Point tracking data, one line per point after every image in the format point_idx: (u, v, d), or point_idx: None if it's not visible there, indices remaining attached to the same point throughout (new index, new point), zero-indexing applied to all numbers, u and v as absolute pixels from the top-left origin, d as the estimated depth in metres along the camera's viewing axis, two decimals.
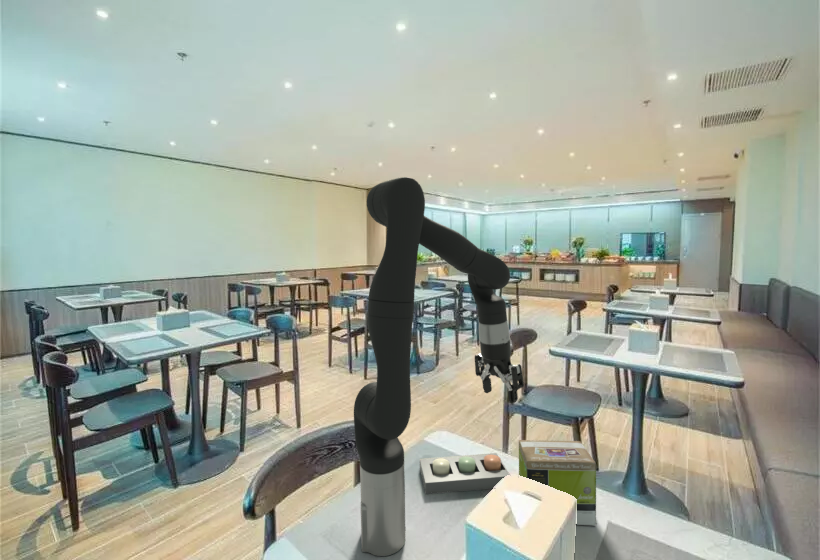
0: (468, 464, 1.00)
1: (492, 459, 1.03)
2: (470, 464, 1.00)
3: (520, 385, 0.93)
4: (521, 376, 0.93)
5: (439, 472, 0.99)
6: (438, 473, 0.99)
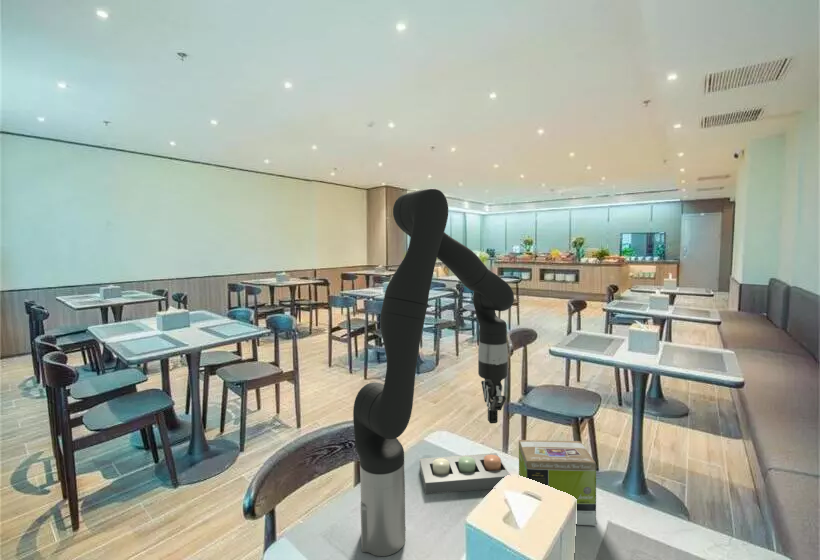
0: (468, 464, 1.00)
1: (492, 459, 1.03)
2: (470, 464, 1.00)
3: (497, 407, 0.98)
4: (501, 405, 0.97)
5: (439, 472, 0.99)
6: (438, 473, 0.99)
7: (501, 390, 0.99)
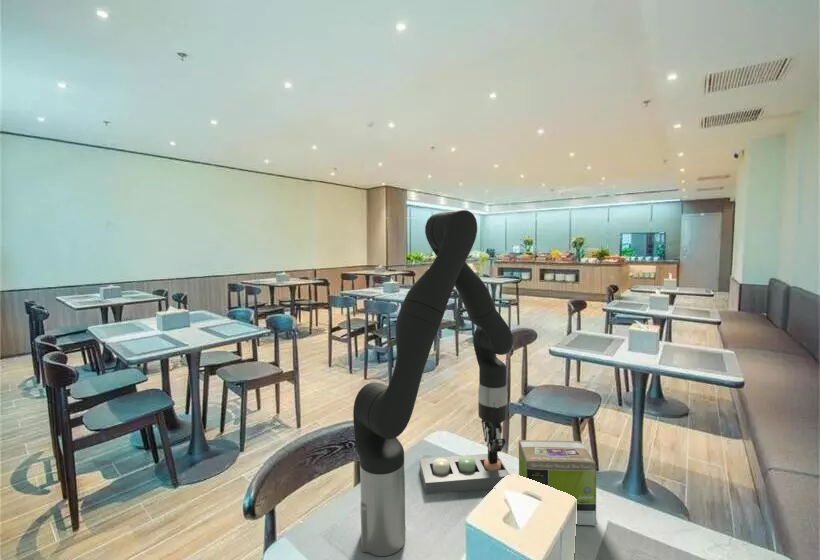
0: (468, 464, 1.00)
1: None
2: (470, 464, 1.00)
3: (497, 449, 0.99)
4: (501, 447, 0.98)
5: (439, 472, 0.99)
6: (438, 473, 0.99)
7: (501, 431, 1.00)
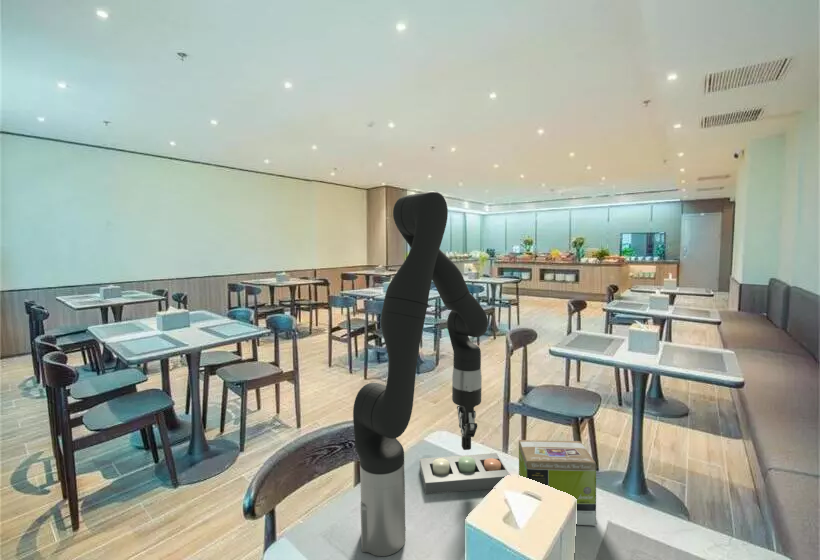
0: (468, 464, 1.00)
1: (492, 462, 1.03)
2: (470, 464, 1.00)
3: (469, 434, 0.97)
4: (473, 432, 0.96)
5: (439, 472, 0.99)
6: (438, 473, 0.99)
7: (474, 417, 0.98)
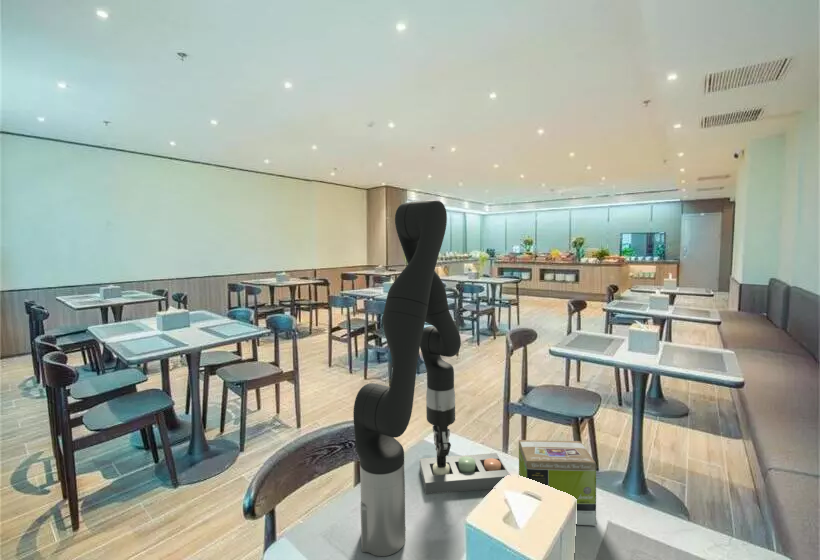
0: (468, 464, 1.00)
1: (492, 462, 1.03)
2: (470, 464, 1.00)
3: None
4: (447, 451, 0.96)
5: None
6: None
7: (448, 435, 0.99)
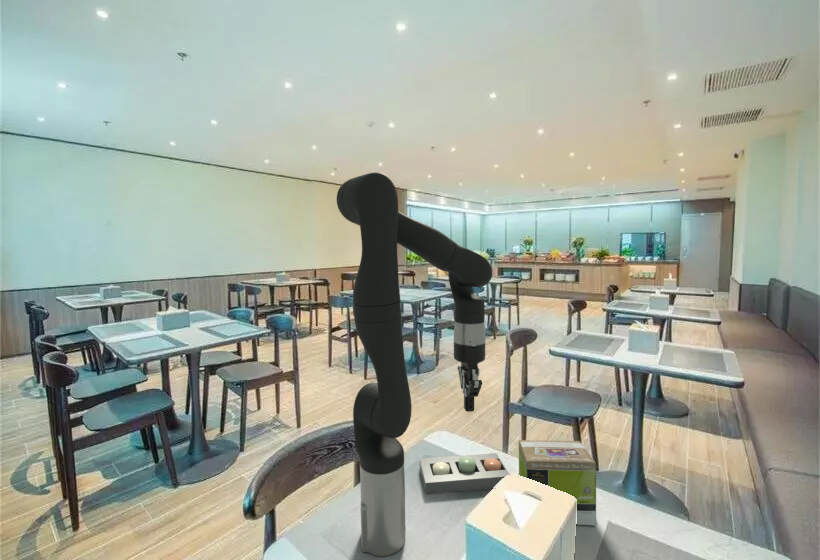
0: (468, 464, 1.00)
1: (492, 462, 1.03)
2: (470, 464, 1.00)
3: (473, 393, 0.89)
4: (478, 390, 0.88)
5: None
6: None
7: (478, 375, 0.91)
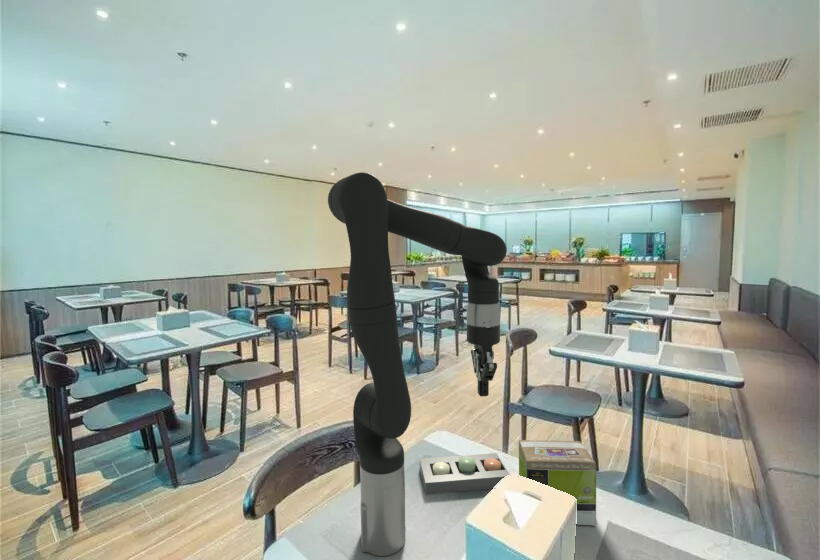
0: (468, 464, 1.00)
1: (492, 462, 1.03)
2: (470, 464, 1.00)
3: (487, 377, 0.86)
4: (492, 374, 0.84)
5: None
6: None
7: (493, 358, 0.87)
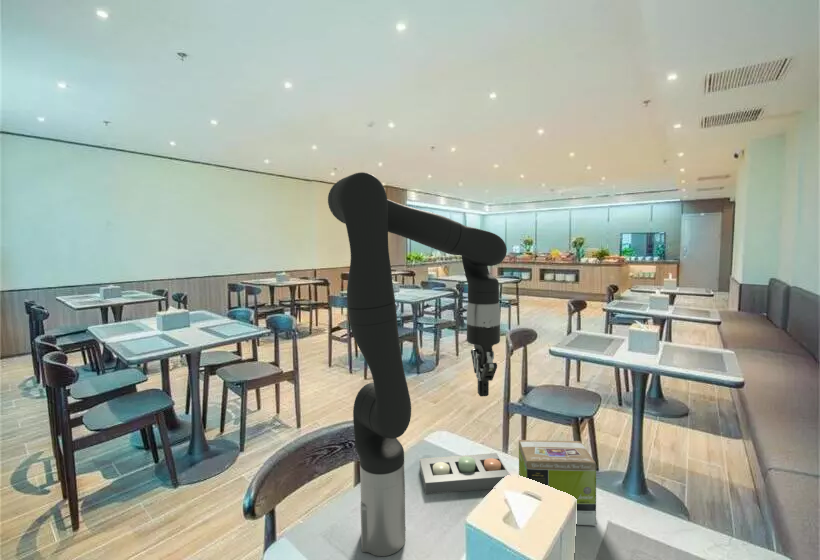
0: (468, 464, 1.00)
1: (492, 462, 1.03)
2: (470, 464, 1.00)
3: (487, 377, 0.86)
4: (492, 374, 0.84)
5: None
6: None
7: (493, 358, 0.87)
